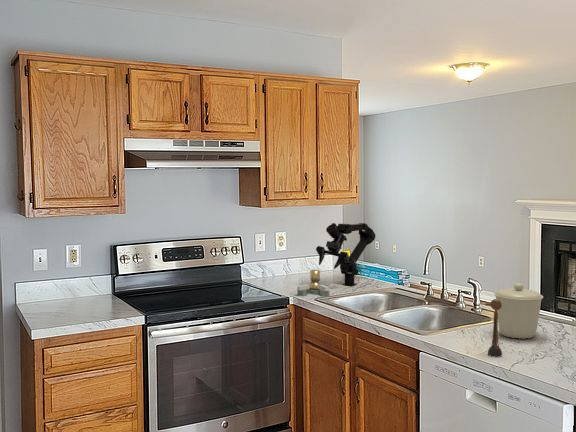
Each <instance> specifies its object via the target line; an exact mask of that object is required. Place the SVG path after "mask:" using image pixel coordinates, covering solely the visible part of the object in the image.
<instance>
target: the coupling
mask: <svg viewBox="0 0 576 432" xmlns="http://www.w3.org/2000/svg"><path fill="white" fill-rule="evenodd" d="M320 272H321V271H320V270H319V269H310V282H309V283H310V284H309V285H310V290H315V291H316V290H320V289H318V286H319V285H321V284H320V280H321V278H320V277H321V273H320Z"/></svg>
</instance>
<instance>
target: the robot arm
mask: <svg viewBox="0 0 576 432" xmlns="http://www.w3.org/2000/svg"><path fill="white" fill-rule="evenodd" d="M325 231H326V233H327V234H328V235H329V236H330V237H331V238H332V240H331V241H329V240H327V242H326V244H325V246H321V245H317V246H316V248H315V251H316V253H317V255H319V256H318V257H319V258H318V265H319V266H321V265H322V263H323V261H324V259H325V255H331V256H335V257H337V260H336V262H335V264H334V267H333V269H334V270H336V269H337V268H338V267H339V268H340V274H342V275H344V283H342V286H350V287H353V286H357V284H358V283H355V276H357V275H359V269H358V268H357V262H358V260H359V258H360V257H361V255H362V253H363V252H364V250H365V249H366V248H367V246H368V245H371V244H372V243H373V242H374V241H375V239H376V237H377V236H376V233H375V232H374V230H373V228H371V227H370V226H369V225H368V224H367V223H365V222H358V223H353V224H350V223H338V224H336V223H335V222H332V223H331V224H329V225H328V226H327V227H326V230H325ZM356 231H358V235H359V241H358V243H357V244H356V246H355V247H354V249H353V250H352V252H351V254H350V255H349V254H348V252H345V251H341V250H342V246H343V244H344V242H346V241H347V240H348V239H347V236H346V235H349V234H352V233H353V232H356ZM325 247H326V248H327V249H325Z"/></svg>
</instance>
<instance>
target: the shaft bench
mask: <svg viewBox="0 0 576 432" xmlns="http://www.w3.org/2000/svg"><path fill="white" fill-rule="evenodd" d="M318 289H320V290H316V291H315V290H310V284H307V283H306V284H301V285H297V286H296V290H297V292H296V295H297V296H299V297H300V296H302V297H306V296H307V294H310V295H314V296H317V295H319V296H320V297H330V286H327V285H324V284H320V285H319V286H318Z"/></svg>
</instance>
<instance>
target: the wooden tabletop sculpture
mask: <svg viewBox="0 0 576 432" xmlns="http://www.w3.org/2000/svg"><path fill="white" fill-rule="evenodd" d="M485 306H489V307H491V309H492V310H494V311H493V328H492V329H493V331H492V341H491V344H490V346H489V348H488V351H487V355H488V356H489V355H491V356H490V357H492V356H501V355H502V356H503V352H502V349H501V348H500V344H499V335H498V334H499V333H498V331H499V330H498V329H499V324H498V313H497V310H499V309H501V307H502V303H501V301H500V300H498V299H496V298H495V299H492V300H491V301H490V302H485ZM502 356H501V357H502Z"/></svg>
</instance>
